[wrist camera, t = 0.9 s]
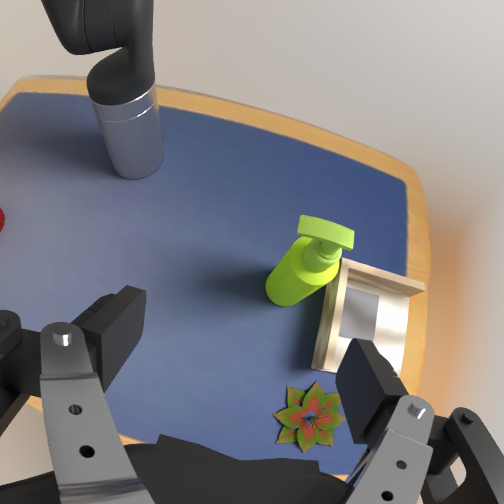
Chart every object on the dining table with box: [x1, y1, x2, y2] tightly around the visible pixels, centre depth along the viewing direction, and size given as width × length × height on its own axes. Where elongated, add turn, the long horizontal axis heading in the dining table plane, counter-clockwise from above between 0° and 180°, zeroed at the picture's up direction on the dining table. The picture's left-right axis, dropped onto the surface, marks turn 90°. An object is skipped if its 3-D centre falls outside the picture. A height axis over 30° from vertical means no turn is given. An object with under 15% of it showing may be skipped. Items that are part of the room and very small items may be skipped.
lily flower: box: [272, 381, 346, 453], centre depth 37 cm, size 12×12×5 cm
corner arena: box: [311, 258, 425, 377], centre depth 42 cm, size 16×16×5 cm
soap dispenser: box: [265, 215, 354, 307], centre depth 36 cm, size 6×7×20 cm
